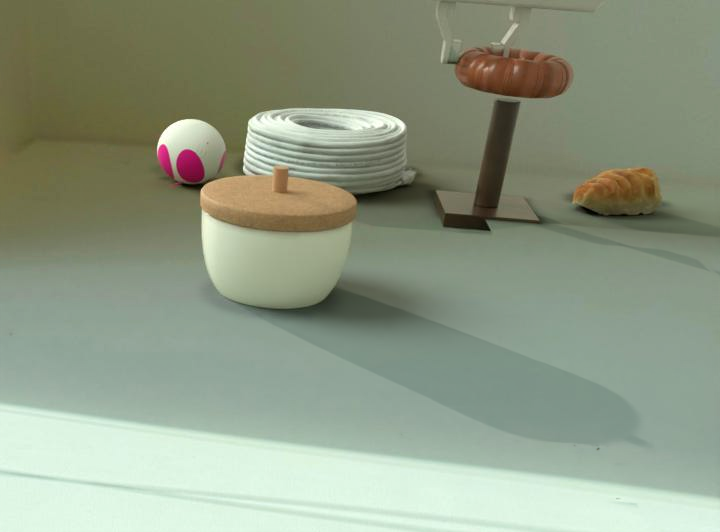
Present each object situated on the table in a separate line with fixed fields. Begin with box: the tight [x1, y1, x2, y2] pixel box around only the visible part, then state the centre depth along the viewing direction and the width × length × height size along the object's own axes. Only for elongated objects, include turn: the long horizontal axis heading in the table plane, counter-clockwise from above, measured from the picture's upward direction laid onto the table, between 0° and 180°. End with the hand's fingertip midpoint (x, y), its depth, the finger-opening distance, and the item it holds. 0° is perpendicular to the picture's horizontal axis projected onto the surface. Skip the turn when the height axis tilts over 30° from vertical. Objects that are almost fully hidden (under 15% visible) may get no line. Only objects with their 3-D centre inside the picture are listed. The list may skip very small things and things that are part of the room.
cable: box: [242, 107, 418, 196], centre depth 97 cm, size 18×18×6 cm
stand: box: [433, 97, 541, 231], centre depth 88 cm, size 9×9×10 cm
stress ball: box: [156, 118, 227, 188], centre depth 94 cm, size 8×8×7 cm
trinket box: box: [199, 166, 358, 310], centre depth 64 cm, size 11×11×9 cm
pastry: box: [571, 166, 663, 216], centre depth 96 cm, size 9×7×4 cm
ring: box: [453, 45, 575, 99], centre depth 83 cm, size 10×10×3 cm
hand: (472, 65), depth 83 cm, fingers closed on ring, 3 cm apart
